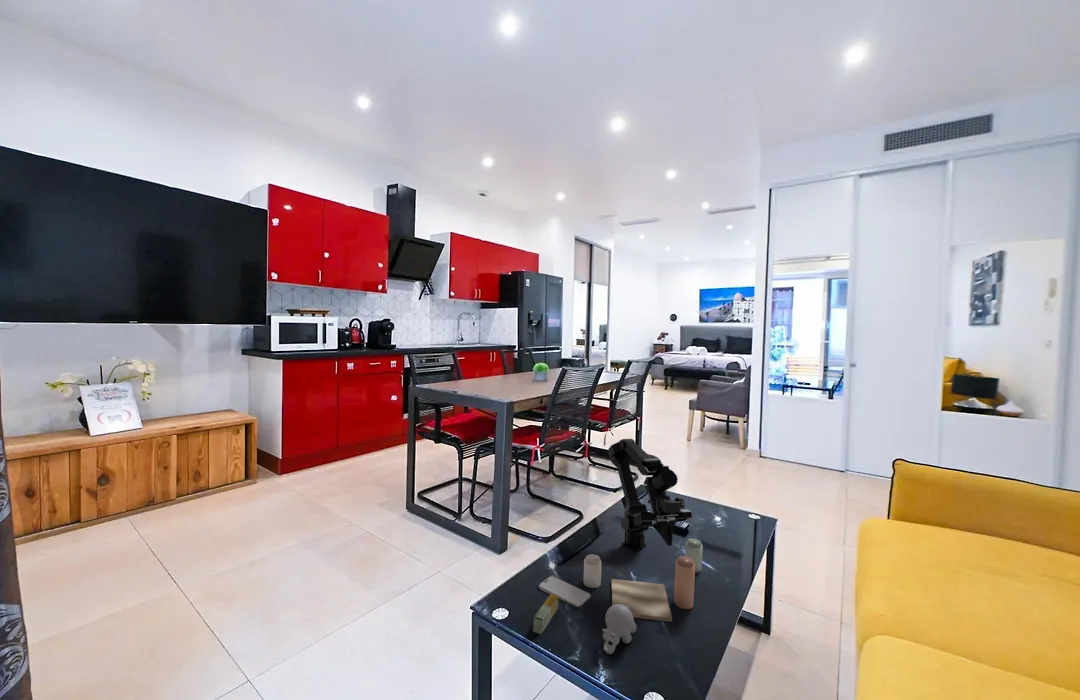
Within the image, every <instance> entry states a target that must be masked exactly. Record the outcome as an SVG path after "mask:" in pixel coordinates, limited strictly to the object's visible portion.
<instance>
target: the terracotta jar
mask: <svg viewBox="0 0 1080 700" xmlns="http://www.w3.org/2000/svg"><path fill="white" fill-rule="evenodd" d="M674 566H675V567H674V569H675V570H674V591H673V593H674V594H673V603H674V604H675V605H676V606H677V607H678V608H679V609H682V610H683V609H684V610H691V609H693V607H694V599H695V598H694V597H695V576H696V572H695V563H694V562H693V560H692V559H691V558H689V557H687V556H685V555H680V556H678V557H677V558H676V559H675V565H674Z"/></svg>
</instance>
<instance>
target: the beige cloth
mask: <svg viewBox="0 0 1080 700" xmlns="http://www.w3.org/2000/svg"><path fill="white" fill-rule="evenodd" d="M611 600H612V601H611V603H612V605H615V604H622V605H625V606H627V607H628V608H629V610H630V611H631V613H632V615H633V618H636V619H645V620H652V621H653V620H654V621H660V622H661V621H662V622H670V623H672V622H673V616H672V612H671V608H670V604H669V600H668V595H667V590H666V587H665V584H662V583H654V582H653V583H652V582H646V581H645V582H644V581H635V580H634V581H632V580H624V579H616V578H615V579H614V578H611ZM612 605H611V606H612Z"/></svg>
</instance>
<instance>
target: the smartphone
mask: <svg viewBox="0 0 1080 700" xmlns="http://www.w3.org/2000/svg"><path fill="white" fill-rule="evenodd" d="M538 588H539V590H541V591H542V592H544V593H547V594H549V595H550V594H554V595H557V596H559V600H561V601H563V602H565V603H568V604H570V605H572V606H574V607H576V608H580V607H582V606H583V605H584V604H585V603H587V601H588V600H590V599H591V596H592V595H591V593H589V592H588V591H585V590H583V589H581V588H579V587H577V586H575V585H573V584H571V583H569V582H566V581H564V580H563V579H561V578H558V577H556V576H553V575H550V576H548V577H547V578H545V579H544V580H543V581H542V582H541V583H539V584H538Z"/></svg>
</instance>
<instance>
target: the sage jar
mask: <svg viewBox="0 0 1080 700" xmlns="http://www.w3.org/2000/svg"><path fill="white" fill-rule="evenodd" d="M703 546H704V545H703V544H702V542H701V541H700V540H699V539H697V538H688V539H687V540H686V542H685V549H684V552H685V553H684V556H687V557H689V558H691V559H692V560H693V562H694V563H695V573H700V572H702V566H703V565H702V564H703V549H704V548H703Z"/></svg>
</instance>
